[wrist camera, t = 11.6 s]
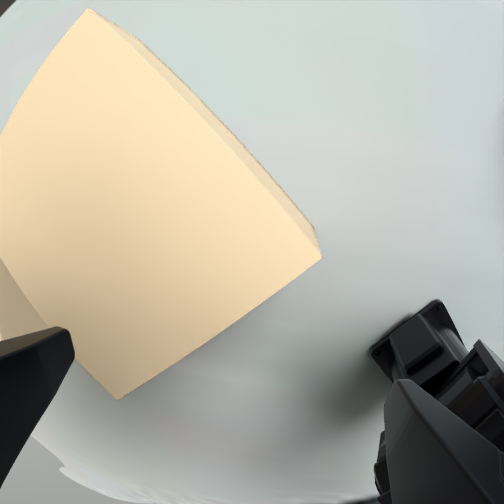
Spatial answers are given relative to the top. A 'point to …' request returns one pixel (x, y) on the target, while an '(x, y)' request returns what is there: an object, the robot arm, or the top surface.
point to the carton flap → (16, 309)
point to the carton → (136, 209)
